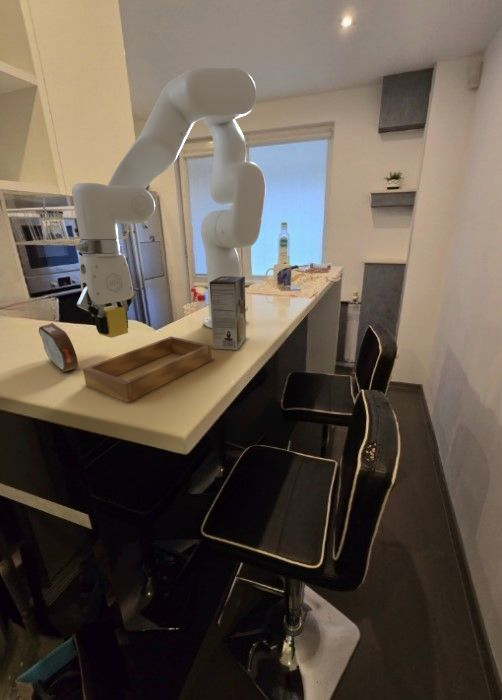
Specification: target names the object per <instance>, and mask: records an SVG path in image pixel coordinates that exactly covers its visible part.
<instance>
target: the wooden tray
mask: <svg viewBox="0 0 502 700" xmlns="http://www.w3.org/2000/svg"><path fill="white" fill-rule="evenodd" d="M172 353H175V354H178V355H181V356H179V357H177V358H174V359H172V360H170V361H167V362H165V363H163V364H160V365H158V366H156V367H154V368H151V369H150V370H148V371H145V372H143V373H140V374H138V375H136V376H134V377H132V378H129V379H127V380H126V379H123V378H120V377H118V376H119V375H121V374H124V373H126V372H129V371H131V370H133V369H136V368H138V367H140V366H142V365H146V364H148V363H150V362H152V361H155V360H158V359H160V358H162V357H164V356H167V355H169V354H172ZM212 360H213V357H212V345H211V344H207V343H202V342H199V341H195V340H189V339H184V338H180V337H177V336H173V335H172V336H168V337H166V338H163V339H160V340H157V341H155V342H151V343H149V344H146V345H144V346H141V347H138V348H135V349H133V350H130V351H127V352H125V353H124V352H123V353H122V354H119V355H116V356H114V357H110V358H108V359H105V360H103V361H100V362H97V363H94V364H92V365H89V366H86V367H83V368H82V373H83V378H84V381H85V386H86V387H88V388H91V389H93V390H95V391H97V392H101V393H103V394H106V395H108V396H110V397H112V398H116V399H117V400H121V401H122V402H125V403H129V404H130V403H131V402H133V401H135V400H137V399H139V398H141V397H142V396H145V395H147V394H148V393H150V392H153V391H155V390H156V389H158V388H160V387H162V386H164V385H166V384H167V383H170V382H172V381H174V380H176V379H178V378H180V377H182V376H184V375H185V374H188V373H189V372H191V371H193V370H195V369H198V368H199V367H201V366H203V365H205V364H207V363H209V362H211V361H212Z"/></svg>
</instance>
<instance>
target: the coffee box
mask: <svg viewBox="0 0 502 700" xmlns="http://www.w3.org/2000/svg"><path fill="white" fill-rule="evenodd" d="M210 298H211V316H212V328H211V333H212V347H213V349H215V350H232V351H238V350H239V349H240V347H241V346H242V345H243V343H244V342H245V341H246V339H247V317H246V316H247V315H246V314H247V313H246V312H247V311H246V307H245V306H246V276H240V277H233V276H221V277H219V278H217V279H215V280H213V281H211V282H210Z"/></svg>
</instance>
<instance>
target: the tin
mask: <svg viewBox="0 0 502 700" xmlns="http://www.w3.org/2000/svg"><path fill="white" fill-rule="evenodd" d="M38 333H39V336H40V337H41V338H40V339H41V340H42V344H43V349H44V352H45V353H46V356H47V357H48V359H49V360H50V361H51V363H53V365H55V367H57V368H58V369H59V370H60V371H61V372H62V373H66V372H70V371H73V370H77V369H78V368H79V360H78V356H77V353H76V350H75V346H74V344H73V343H72V340H71V338H70V337H69V335H68V333H67V332H66V331H65V330H64V329H62V328H61V327H59V326H58V325H56V324H55V323H53V322H50V323H48V324H44V325H41V326H39V328H38Z"/></svg>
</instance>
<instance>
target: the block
mask: <svg viewBox="0 0 502 700" xmlns="http://www.w3.org/2000/svg"><path fill="white" fill-rule="evenodd" d="M104 317H106V318H107V325H108V331H109V333H108V334H107V335H105V334H101V333H98V334H99V336H103V337H107V338H111V339H113V338H117V337H119V336H122V335H125V334H129V326H128V327H127V320H126V312H125V308H123V307H117V306H116V305H109V306H104Z"/></svg>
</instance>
